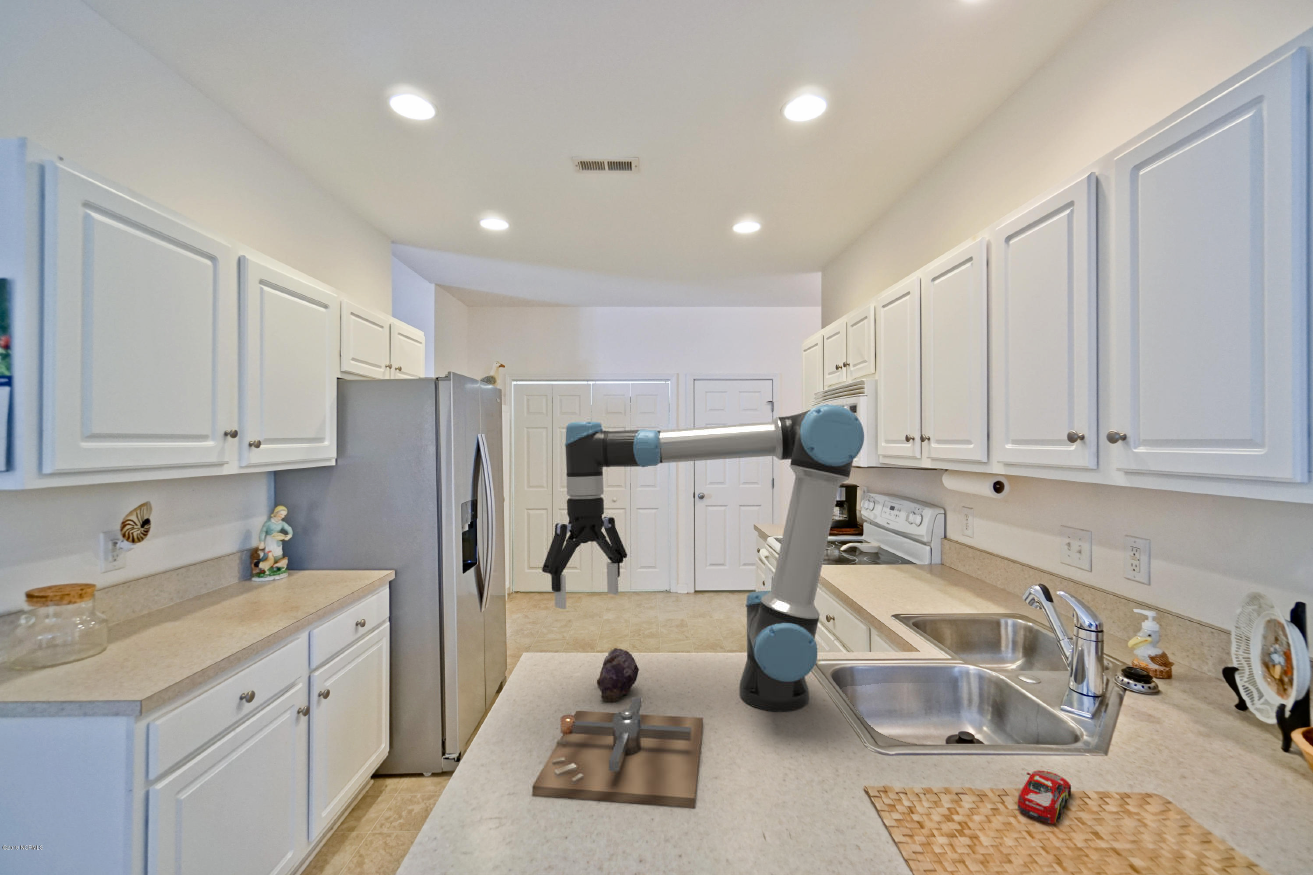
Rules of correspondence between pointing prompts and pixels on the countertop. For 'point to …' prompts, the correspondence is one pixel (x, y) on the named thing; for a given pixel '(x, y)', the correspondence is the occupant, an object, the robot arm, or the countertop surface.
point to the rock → (617, 674)
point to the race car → (1044, 796)
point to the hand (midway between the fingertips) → (587, 600)
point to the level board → (624, 766)
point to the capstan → (624, 732)
